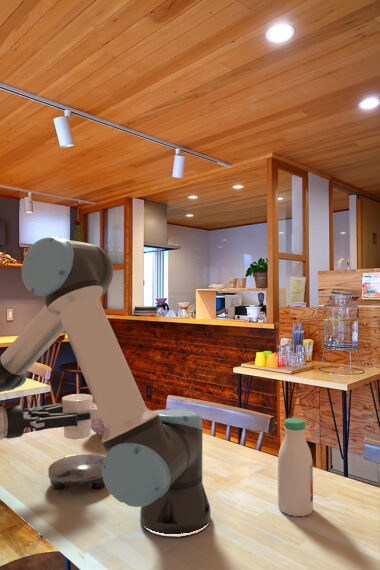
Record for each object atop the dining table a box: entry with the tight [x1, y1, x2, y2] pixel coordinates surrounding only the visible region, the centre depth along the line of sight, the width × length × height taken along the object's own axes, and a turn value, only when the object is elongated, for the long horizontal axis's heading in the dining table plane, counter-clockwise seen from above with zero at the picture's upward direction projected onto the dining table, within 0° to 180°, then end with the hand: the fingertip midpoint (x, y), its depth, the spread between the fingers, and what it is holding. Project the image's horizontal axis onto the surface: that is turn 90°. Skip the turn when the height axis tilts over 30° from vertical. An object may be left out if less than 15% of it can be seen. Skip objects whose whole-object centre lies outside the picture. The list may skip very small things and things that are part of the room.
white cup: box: [61, 393, 93, 440], centre depth 115 cm, size 8×8×10 cm
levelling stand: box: [47, 453, 105, 492], centre depth 114 cm, size 17×16×4 cm
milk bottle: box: [277, 417, 314, 517], centre depth 99 cm, size 8×8×20 cm
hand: (95, 409), depth 118 cm, fingers closed on white cup, 7 cm apart
